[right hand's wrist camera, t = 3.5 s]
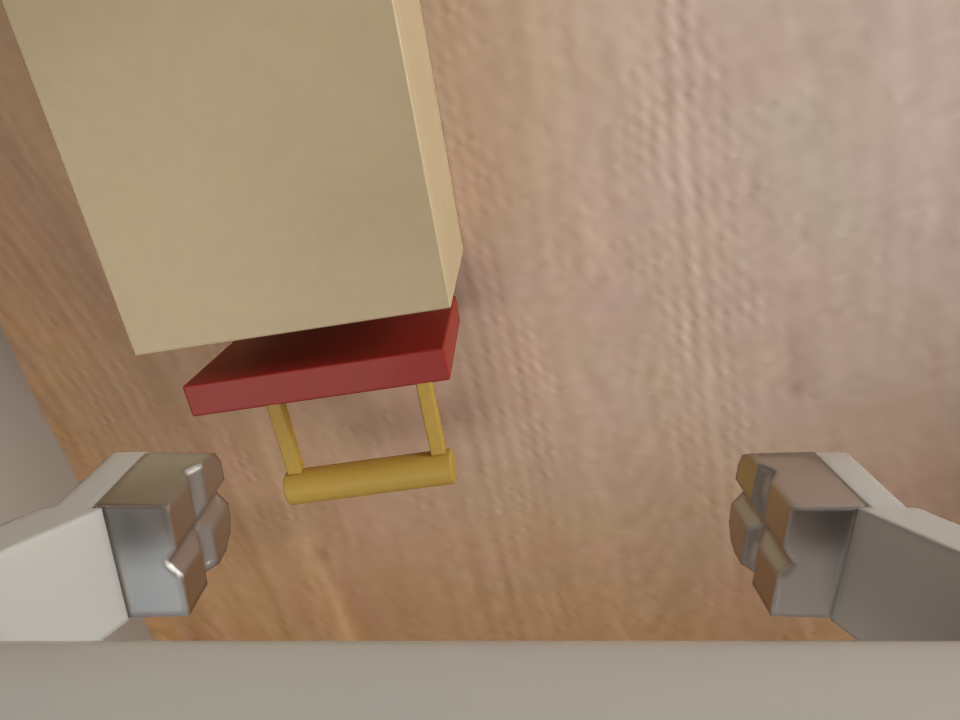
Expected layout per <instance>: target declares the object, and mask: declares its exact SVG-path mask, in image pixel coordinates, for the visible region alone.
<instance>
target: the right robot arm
mask: <svg viewBox="0 0 960 720" xmlns="http://www.w3.org/2000/svg"><path fill="white" fill-rule="evenodd" d="M223 480H224V474H223V469H222V464H221V460H220V459H219V458H218V456H217V455H216V454H215V453H171V452H151V453H150V452H148V451H145V452H118V453H112V454H111V455H110V456H109V457H108V458H107V459H106V460H105V461H103V462H102V463H101V464H100V465H99V466H98V467H97V468H96V469H95V470H94V471H93V472H92V473H91V474H89V475H88V476H87V477H86V478H85V479H84V480H83V481H82V482H81V483H80V484H79V485H78V486H77V487H75V488H74V489H73V490H72V491H71V492H70V493H69V494H68V495H67V496H66V497H65V498H64V499H62V500H61V501H60V502H59V503H58V504H57V505H56V506H55V507H54V508H41V509H39V510H36V511H34V512H31V513H29V514H26V515H24V516H22V517H19V518H17V519H14V520H12V521H9V522H7V523H4V524H2V525H0V720H960V525H958V524H956V523H953V522H951V521H948V520H946V519H943V518H941V517H938V516H936V515H934V514H931V513H929V512H926V511H924V510H921V509H919V508H906V507H905V506H904V505H903V504H902V503H901V502H900V501H899V500H898V499H897V498H895V497H894V496H893V495H892V494H891V493H890V492H889V491H888V490H887V489H886V488H885V487H884V486H883V485H881V484H880V483H879V482H878V481H877V480H876V479H875V478H874V477H873V476H872V475H871V474H870V473H869V472H867V471H866V470H865V469H864V468H863V467H862V466H861V465H860V464H859V463H858V462H857V461H856V460H855V459H853V458H852V457H851V456H850V455H849V454H847V453H844V452H841V451H835V452H794V453H753V454H745V455H742V457H741V459H740V461H739V464H738V468H737V474H736V480H737V482H738V483H739V485H740V486H741V488H742V489H743V492H742V493H741V494H740V495H739V496H738V497H737V498H736V499H735V500H734V502H733V503H732V504H731V512H730V520H729V526H730V536H731V542H732V545H733V548H734V552H735V554H736V556H737V557H738V559H739V561H740V563H741V564H742V565H744V566H745V567H747V568H749V569H750V570H752V571H753V572H754V578H753V586H754V587H755V589H756V591H757V592H758V594H759V596H760V598H761V599H762V601H763V603H764V604H765V606H766V608H767V610H768V611H769V613H770V615H771V616H793V617H830V618H831V620H832V621H833V622H834V623H836V624H837V625H838V626H840V627H841V628H842V629H844V630H845V631H846V632H848V633H849V634H850V635H852V636H853V637H854V638H856V639H857V640H858V641H102V640H103V639H105V638H106V637H107V636H109V635H110V634H111V633H113V632H114V631H115V630H117V629H118V628H119V627H121V626H122V625H123V624H125V623H126V622H127V621H128V620H129V619H128V618H130V617H166V616H189V615H190V613H191V611H192V610H193V608H194V606H195V605H196V603H197V601H198V599H199V598H200V596H201V594H202V592H203V591H204V589H205V587H206V586H207V578H206V572H207V571H208V570H210V569H211V568H213V567H214V566H216V565H218V564H219V563H220V561H221V559H222V557H223V555H224V554H225V552H226V549H227V545H228V540H229V536H230V511H229V504H228V503H227V502H226V501H225V499H224V498H223V497H222V496H221V495H220V494H219V493H218V492H217V489H218V488H219V486H220V485H221V483H222V482H223Z"/></svg>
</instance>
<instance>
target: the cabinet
mask: <svg viewBox="0 0 960 720" xmlns="http://www.w3.org/2000/svg"><path fill="white" fill-rule="evenodd" d="M1 1H2V4H3V6H4V9H5V12H6V14H7V17H8V20H9V22H10V25H11V28H12V30H13V33H14V36H15V38H16V41H17V44H18V46H19V49H20V52H21V54H22V57H23V59H24V62H25V65H26V67H27V70H28V73H29V75H30V78H31V81H32V83H33V86H34V89H35V91H36V94H37V97H38V99H39V102H40V104H41V107H42V110H43V112H44V115H45V118H46V120H47V123H48V126H49V128H50V131H51V134H52V136H53V139H54V142H55V144H56V147H57V150H58V152H59V155H60V157H61V160H62V163H63V165H64V168H65V171H66V173H67V176H68V179H69V181H70V184H71V187H72V189H73V192H74V195H75V197H76V200H77V202H78V205H79V208H80V210H81V213H82V216H83V218H84V221H85V224H86V226H87V229H88V232H89V234H90V237H91V240H92V242H93V245H94V248H95V250H96V253H97V255H98V258H99V261H100V263H101V266H102V269H103V271H104V274H105V277H106V279H107V282H108V285H109V287H110V290H111V293H112V295H113V298H114V300H115V303H116V306H117V308H118V311H119V314H120V316H121V319H122V322H123V324H124V327H125V330H126V332H127V335H128V338H129V340H130V343H131V346H132V348H133V351H134V353H135V355H137V356H138V355H145V354H151V353H158V352H165V351H171V350H178V349H184V348H191V347H197V346H204V345H210V344H217V343H224V342H230V341H237V340H243V339H250V338H256V337H263V336H269V335H276V334H282V333H289V332H296V331H302V330H309V329H315V328H322V327H328V326H335V325H341V324H348V323H354V322H361V321H368V320H374V319H381V318H387V317H394V316H400V315H407V314H413V313H420V312H427V311H433V310H440V309H446V308H450V307H451V304H452V299H453V294H454V289H455V285H456V281H457V276H458V272H459V267H460V263H461V259H462V254H463V245H462V239H461V234H460V228H459V222H458V216H457V211H456V205H455V199H454V194H453V188H452V182H451V176H450V171H449V165H448V159H447V154H446V148H445V142H444V136H443V131H442V125H441V119H440V114H439V108H438V102H437V96H436V91H435V85H434V79H433V74H432V68H431V62H430V56H429V51H428V45H427V39H426V34H425V28H424V22H423V16H422V11H421V5H420V0H1Z"/></svg>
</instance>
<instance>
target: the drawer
mask: <svg viewBox="0 0 960 720" xmlns="http://www.w3.org/2000/svg"><path fill="white" fill-rule="evenodd" d="M459 322H460V318H459V313H458V307H457V302H456V297H455V296H453V299H452V304H451V307H450V308H446V309H440V310H433V311H427V312H420V313H413V314H407V315H400V316H394V317H387V318H381V319H374V320H368V321H361V322H354V323H348V324H341V325H335V326H328V327H322V328H315V329H309V330H302V331H296V332H289V333H282V334H276V335H269V336H263V337H256V338H250V339H243V340H237V341H234V342H233V343H231V344H230V345H229V346H228V347H227V348H226V349H225V350H224V351H223V352H221V353H220V354H219V355H218V356H217V357H216V358H215V359H214V360H212V361H211V362H210V363H209V364H208V365H207V366H206V367H205V368H203V369H202V370H201V371H200V372H199V373H198V374H197V375H196V376H194V377H193V378H192V379H191V380H190V381H189V382H188V383H187V384H186V385H184V386H183V389H184V392H185V395H186V398H187V400H188V403H189V406H190V409H191V412H192V414H193V416H199V415H206V414H213V413H220V412H227V411H234V410H241V409H248V408H255V407H262V406H267V409H268V412H269V415H270V418H271V422H272V425H273V428H274V431H275V434H276V438H277V441H278V444H279V447H280V451H281V454H282V457H283V460H284V464H285V467H286V470H287V473H286V474H285V477H284V493H285V497H286V500H287V501H288V503H289V504H292V505H295V504H303V503H310V502H318V501H326V500H333V499H341V498H349V497H356V496H364V495H371V494H379V493H387V492H394V491H402V490H410V489H417V488H425V487H433V486H440V485H448V484H454V483H456V479H457V472H456V463H455V457H454V453H453V451H452V449H446V444H445V439H444V434H443V430H442V425H441V420H440V415H439V410H438V405H437V401H436V396H435V391H434V386H433V382H436V381H443V380H449V379H450V375H451V369H452V363H453V358H454V352H455V346H456V340H457V334H458V328H459ZM415 384H416V387H417V392H418V396H419V401H420V405H421V410H422V415H423V419H424V424H425V428H426V433H427V438H428V442H429V447H430V451H428V452H420V453H413V454H406V455H398V456H391V457H383V458H376V459H369V460H361V461H354V462H347V463H339V464H332V465H324V466H317V467H310V468H304V464H303V460H302V457H301V454H300V450H299V447H298V444H297V440H296V437H295V434H294V430H293V427H292V423H291V420H290V417H289V413H288V410H287V407H286V403H290V402H297V401H304V400H311V399H318V398H325V397H332V396H339V395H345V394H352V393H359V392H366V391H373V390H380V389H387V388H394V387H401V386H408V385H415Z"/></svg>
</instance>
